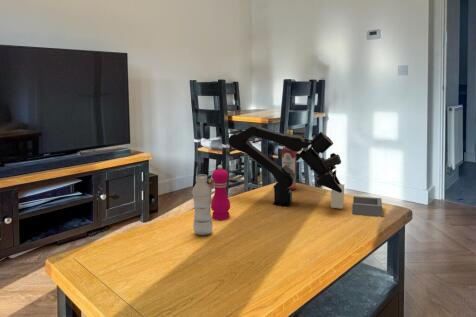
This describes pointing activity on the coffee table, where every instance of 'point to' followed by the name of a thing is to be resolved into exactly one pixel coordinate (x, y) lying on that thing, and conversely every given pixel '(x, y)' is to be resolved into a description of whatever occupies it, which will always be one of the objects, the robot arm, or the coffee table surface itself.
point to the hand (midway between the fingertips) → (341, 190)
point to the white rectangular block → (337, 197)
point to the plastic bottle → (202, 206)
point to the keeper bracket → (367, 206)
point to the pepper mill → (220, 195)
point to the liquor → (289, 159)
